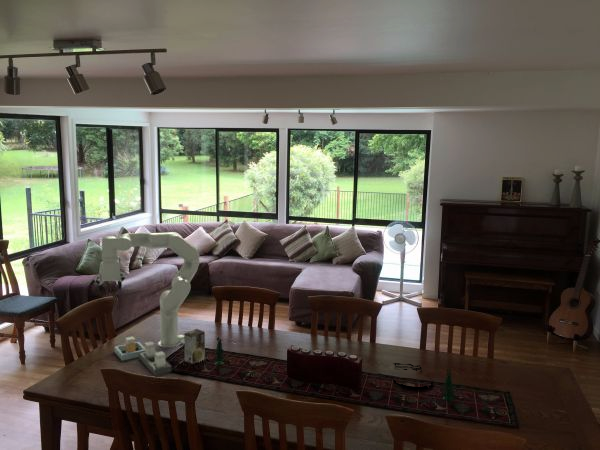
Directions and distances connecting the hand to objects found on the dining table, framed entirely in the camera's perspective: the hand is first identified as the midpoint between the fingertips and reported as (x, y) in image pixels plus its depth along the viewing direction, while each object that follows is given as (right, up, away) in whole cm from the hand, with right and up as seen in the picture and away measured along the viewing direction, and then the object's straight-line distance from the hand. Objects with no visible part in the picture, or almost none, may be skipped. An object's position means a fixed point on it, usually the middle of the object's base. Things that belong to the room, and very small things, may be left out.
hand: (110, 290), depth 271 cm
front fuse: (+32, -38, -18) cm, 53 cm away
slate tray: (+11, -35, +1) cm, 37 cm away
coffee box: (+46, -37, -4) cm, 60 cm away
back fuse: (+23, -36, -6) cm, 43 cm away
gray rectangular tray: (+28, -38, -12) cm, 48 cm away
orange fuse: (+11, -35, +1) cm, 36 cm away
